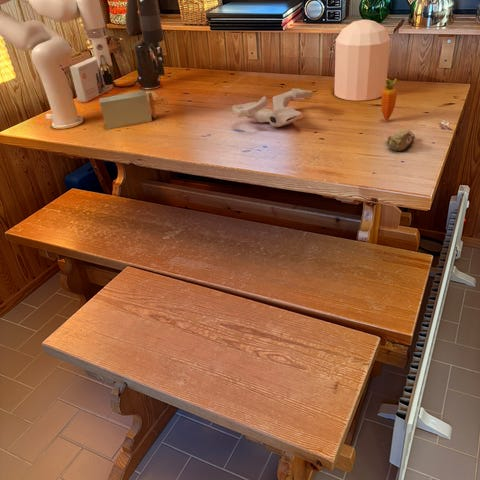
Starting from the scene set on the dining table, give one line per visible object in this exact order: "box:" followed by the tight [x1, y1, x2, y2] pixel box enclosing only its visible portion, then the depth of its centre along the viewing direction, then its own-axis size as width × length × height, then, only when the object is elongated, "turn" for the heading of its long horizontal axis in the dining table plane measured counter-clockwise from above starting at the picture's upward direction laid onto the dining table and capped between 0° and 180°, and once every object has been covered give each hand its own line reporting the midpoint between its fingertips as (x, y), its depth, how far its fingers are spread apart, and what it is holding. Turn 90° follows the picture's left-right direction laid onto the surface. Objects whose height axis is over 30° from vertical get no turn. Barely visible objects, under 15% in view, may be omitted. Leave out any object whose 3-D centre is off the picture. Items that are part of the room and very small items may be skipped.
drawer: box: [147, 92, 168, 119], centre depth 185 cm, size 22×5×9 cm, turn 106°
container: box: [333, 19, 391, 102], centre depth 186 cm, size 21×21×28 cm
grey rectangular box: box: [98, 90, 153, 130], centre depth 184 cm, size 18×6×11 cm, turn 106°
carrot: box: [380, 78, 398, 122], centre depth 161 cm, size 5×5×15 cm
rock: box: [387, 129, 416, 152], centre depth 146 cm, size 11×6×10 cm
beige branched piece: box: [231, 88, 314, 128], centre depth 171 cm, size 28×26×12 cm
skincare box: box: [69, 56, 113, 103], centre depth 218 cm, size 21×6×16 cm, turn 158°
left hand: (108, 81), depth 176 cm, fingers open, 9 cm apart
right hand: (159, 72), depth 181 cm, fingers open, 8 cm apart
